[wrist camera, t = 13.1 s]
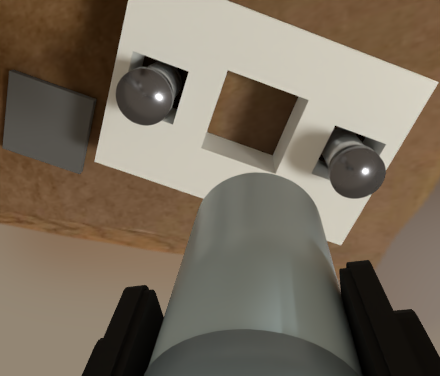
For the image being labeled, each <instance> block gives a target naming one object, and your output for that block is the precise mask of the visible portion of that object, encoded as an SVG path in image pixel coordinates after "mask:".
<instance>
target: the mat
mask: <svg viewBox="0 0 440 376" xmlns="http://www.w3.org/2000/svg"><path fill="white" fill-rule="evenodd" d="M96 100H97V99H95V98H92V97H89V96H87V95H84V94H81V93H78V92H75V91H72V90H70V89H67V88H64V87H61V86H58V85H55V84H53V83H50V82H47V81H44V80H41V79H38V78H36V77H33V76H30V75H27V74H24V73H21V72H19V71H16V70H11V71H9V80H8V91H7V103H6V114H5V126H4V137H3V148H4V149H6V150H9V151H12V152H15V153H18V154H21V155H24V156H27V157H30V158H33V159H36V160H39V161H42V162H45V163H48V164H51V165H54V166H57V167H60V168H63V169H66V170H69V171H72V172H75V173H78V174H80V173H81V172H82V171H83V166H84V161H85V156H86V151H87V145H88V140H89V135H90V130H91V125H92V120H93V115H94V110H95V105H96Z"/></svg>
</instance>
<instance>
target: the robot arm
mask: <svg viewBox="0 0 440 376" xmlns="http://www.w3.org/2000/svg"><path fill="white" fill-rule="evenodd" d="M339 273H340V285H341V297H342V301H343V304H344V308H345V311H346V315H347V318H348V322H349V325H350V329H351V332H352V336H353V340H354V344H355V347H356V351H357V355H358V358H359V362H360V366H361V369H362V373H363V376H440V357H439V355H438V353H437V351H436V350H435V348H434V346H433V344H432V342H431V340H430V338H429V337H428V335H427V333H426V331H425V329H424V327H423V325H422V324H421V322H420V320H419V318H418V316H417V315H416V313H415V312H414V311H413V310H412V309H408V310H397V311H393V309H392V307H391V305H390V303H389V300H388V298H387V296H386V294H385V292H384V290H383V288H382V286H381V283H380V282H379V279H378V277H377V275H376V273H375V271H374V269H373V267H372V264H371V263H370V261H369V260H364V261H355V262H347V265H346V268H343V269H340V270H339ZM163 319H164V317H163V314H162V311H161V308H160V305H159V302H158V299H157V296H156V293H155V291H154V290H149V288H148V287H147V286H146V285H142V286H133V287H127V288H125V289H124V291H123V293H122V296H121V298H120V300H119V303H118V305H117V308H116V310H115V312H114V314H113V317H112V319H111V321H110V324H109V326H108V328H107V331H106V333H105V336H104V338H101V339H100V340H98V342H97V343H96V345H95V347H94V349H93V351H92V354H91V356H90V358H89V360H88V363H87V365H86V367H85V370H84V372H83V374H82V376H144V374H145V372H146V370H147V369H148V366H149V363H150V360H151V357H152V354H153V350H154V347H155V344H156V341H157V338H158V335H159V332H160V329H161V325H162V322H163Z"/></svg>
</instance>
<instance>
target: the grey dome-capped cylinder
mask: <svg viewBox="0 0 440 376" xmlns="http://www.w3.org/2000/svg"><path fill="white" fill-rule="evenodd" d="M181 86H182V79H181V75H180V73H179V71H178V70H177V68H176V67H175V66H172V65H169V64H167V63H164V62H161V61H158V62H155V63H153V64H151V65H149V66H148V67H138V68H135V69H133V70H131V71H129V72H128V73H126V74H125V75H124V76H123V77H122V78H121V79H120V81H119V82H118V84H117V88H116V101H117V105H118V107H119V109H120V111H121V112H122V114H123V115H124V116H125V117H126V118H127V119H129V120H130V121H132V122H133V123H136V124H139V125H144V126H148V125H154V124H157V123H159V122H160V121H162V120H163V119H164V118H165V117H166V116H167V114H168V113H169V112H170V110H171V108H172V106H173V102H174V98H175V97H176V96H177V95H178V93H179V92H180V90H181Z"/></svg>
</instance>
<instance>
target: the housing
mask: <svg viewBox="0 0 440 376" xmlns="http://www.w3.org/2000/svg"><path fill="white" fill-rule="evenodd" d="M145 56H148V57H150V58H153V59H156V60H158V61H161V62H164V63H167V64H169V65H172V66H175V67H178V68H180V69H183V70H186V71H188V76H187V79H186V82H185V86H184V89H183V92H182V96H181V99H180V103H179V106H178V109H175V108H171V110H170V112H169V113H168V114H167V116H166V117H165V118H164V119H163V120H162V121H160V122H159V123H157V124H154V125H148V126H144V125H139V124H136V123H133V122H132V121H130V120H129V119H127V118H126V117H125V116H124V115H123V114H122V112H121V111H120V109H119V107H118V105H117V101H116V88H117V84H118V82H119V81H120V79H121V78H122V77H123V76H124V75H125V74H126V73H128V72H129V71H131V70H133V69H135V68H138V67H142V65H143V61H144V57H145ZM228 70H229V71H231V72H234V73H237V74H240V75H242V76H245V77H248V78H250V79H253V80H256V81H258V82H261V83H264V84H267V85H269V86H272V87H275V88H277V89H280V90H283V91H285V92H288V93H291V94H293V95H296V96H299V97H298V99H297V101H296V103H295V106H294V108H293V110H292V112H291V115H290V117H289V119H288V122H287V124H286V126H285V128H284V131H283V133H282V135H281V138H280V140H279V142H278V144H277V147H276V149H275V151H274V153H273V155H270V154H267V153H264V152H261V151H259V150H256V149H253V148H250V147H247V146H245V145H242V144H239V143H236V142H233V141H231V140H228V139H225V138H222V137H219V136H216V135H214V134H211V133H208V132H207V129H208V126H209V123H210V120H211V118H212V115H213V112H214V109H215V106H216V103H217V100H218V97H219V94H220V91H221V88H222V85H223V83H224V80H225V77H226V74H227V71H228ZM438 83H439V82H437V81H434V80H432V79H429V78H427V77H425V76H422V75H420V74H417V73H415V72H412V71H410V70H407V69H405V68H402V67H399V66H397V65H394V64H392V63H389V62H386V61H384V60H381V59H379V58H376V57H373V56H371V55H368V54H366V53H363V52H361V51H358V50H355V49H353V48H350V47H348V46H345V45H342V44H340V43H337V42H335V41H332V40H330V39H327V38H324V37H322V36H319V35H317V34H314V33H311V32H309V31H306V30H304V29H301V28H298V27H296V26H293V25H291V24H288V23H286V22H283V21H280V20H278V19H275V18H273V17H270V16H267V15H265V14H262V13H260V12H257V11H255V10H252V9H249V8H247V7H244V6H242V5H239V4H236V3H234V2H231V1H229V0H128V4H127V9H126V13H125V18H124V23H123V28H122V33H121V37H120V42H119V47H118V52H117V56H116V61H115V66H114V71H113V75H112V80H111V85H110V90H109V95H108V99H107V104H106V109H105V114H104V118H103V123H102V128H101V133H100V137H99V142H98V147H97V152H96V157H95V161H94V162H97V163H100V164H103V165H106V166H109V167H112V168H115V169H118V170H121V171H124V172H127V173H130V174H133V175H136V176H139V177H141V178H144V179H147V180H150V181H153V182H156V183H159V184H162V185H165V186H168V187H171V188H174V189H177V190H180V191H183V192H186V193H189V194H191V195H194V196H197V197H200V198H203V199H204V198H205V196H206V195H207V194H208V193H209V192H210V191H211V190H212V189H213V188H214V187H215V186H217V185H218V184H220V183H221V182H223V181H224V180H227V179H229V178H231V177H234V176H237V175H240V174H245V173H254V172H258V173H269V174H275V175H278V176H282V177H284V178H286V179H289V180H291V181H292V182H294V183H296V184H297V185H299V186H300V187H301V188H302V189H304V190H305V191H306V192H307V193H308V194H309V196H310V197H311V198H312V200H313V201H314V203H315V205H316V207H317V209H318V212H319V214H320V218H321V222H322V225H323V229H324V233H325V236H326V240H327V241H330V242H333V243H336V244H339V245H342V243H343V241H344V240H345V238H346V236H347V235H348V233H349V231H350V230H351V228H352V226H353V225H354V223H355V221H356V220H357V218H358V216H359V215H360V213H361V211H362V210H363V208H364V206H365V205H366V203H367V201H368V200H369V198H370V196H371V195H372V194H371V195H369V196H366V197H363V198H359V199H351V198H346V197H343V196H341V195H340V194H338V193H337V192H336V191H335V190H334V188H333V186H332V184H331V182H330V180H329V177H328V166H327V163H326V162H323V161H320V160H318V159H319V157H320V155H321V153H322V151H323V149H324V147H325V145H326V143H327V141H328V139H329V137H330V135H331V133H332V131H333V129H334V127H335V126H338V127H341V128H344V129H346V130H349V131H352V132H355V133H357V134H360V135H363V136H365V139H364V141H363V144H364V145H365V146H368V147H370V148H372V149H373V150H374V151H375V152H376V153H377V154H378V155H379V156H380V158H381V159H382V160H383V162H384V164H385V169H387V168H388V166H389V164H390V163H391V161H392V159H393V158H394V156H395V154H396V153H397V151H398V149H399V148H400V146H401V144H402V143H403V141H404V139H405V138H406V136H407V134H408V133H409V131H410V129H411V128H412V126H413V124H414V123H415V121H416V119H417V118H418V116H419V114H420V113H421V111H422V109H423V108H424V106H425V104H426V103H427V101H428V99H429V98H430V96H431V94H432V93H433V91H434V89H435V88H436V86H437V84H438Z"/></svg>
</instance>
